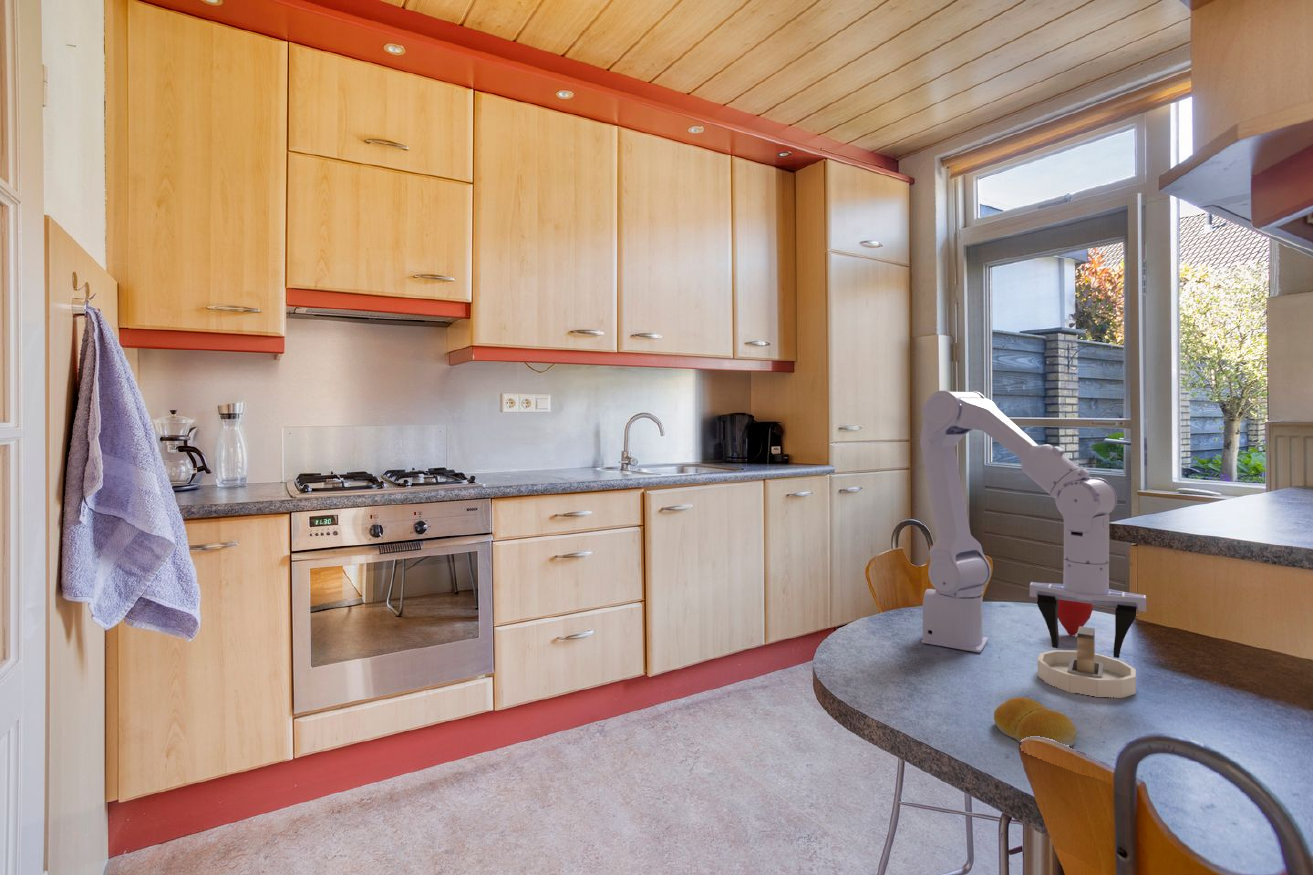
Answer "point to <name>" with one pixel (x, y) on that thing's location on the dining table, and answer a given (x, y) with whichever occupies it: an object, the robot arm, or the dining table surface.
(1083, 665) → the tan cardboard box
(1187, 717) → the dining table surface
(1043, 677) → the beige faceted bowl
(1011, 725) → the bread roll
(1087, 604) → the strawberry
